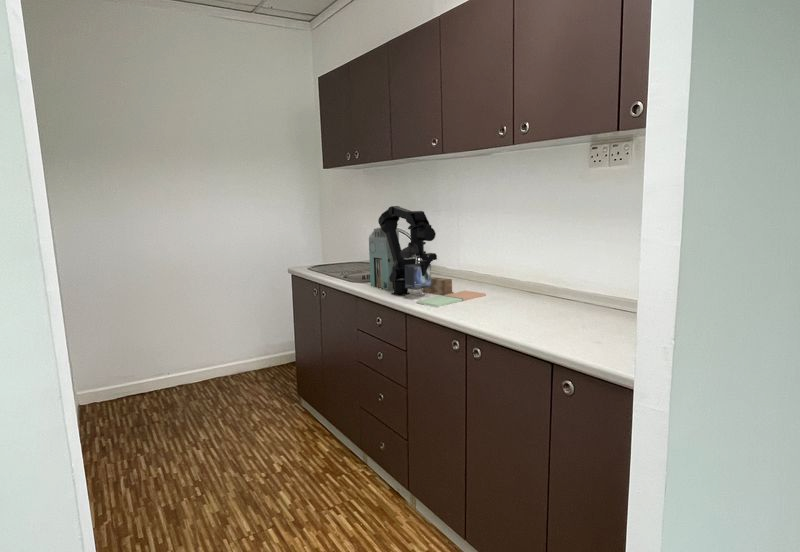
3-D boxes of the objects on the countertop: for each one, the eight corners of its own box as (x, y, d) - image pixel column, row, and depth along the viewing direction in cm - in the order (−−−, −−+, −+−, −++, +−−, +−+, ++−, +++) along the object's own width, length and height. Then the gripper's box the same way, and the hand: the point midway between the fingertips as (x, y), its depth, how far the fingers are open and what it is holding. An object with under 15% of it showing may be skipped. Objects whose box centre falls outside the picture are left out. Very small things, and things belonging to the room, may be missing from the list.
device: (370, 286, 268) (368, 228, 263) (383, 284, 272) (381, 227, 267) (387, 290, 254) (385, 229, 250) (400, 289, 258) (398, 228, 254)
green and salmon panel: (416, 303, 222) (416, 300, 222) (465, 292, 244) (465, 290, 244) (437, 307, 214) (436, 304, 214) (485, 295, 235) (485, 293, 235)
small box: (414, 290, 225) (413, 266, 223) (404, 288, 230) (403, 265, 228) (431, 286, 232) (431, 263, 230) (421, 285, 237) (421, 262, 235)
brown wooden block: (423, 292, 247) (422, 277, 246) (431, 290, 251) (431, 276, 250) (444, 295, 237) (444, 280, 236) (453, 293, 241) (453, 279, 240)
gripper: (389, 240, 229) (390, 275, 231) (418, 242, 215) (419, 279, 218) (407, 238, 236) (408, 272, 239) (437, 240, 223) (438, 276, 225)
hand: (417, 275), depth 230 cm, fingers closed on small box, 6 cm apart
